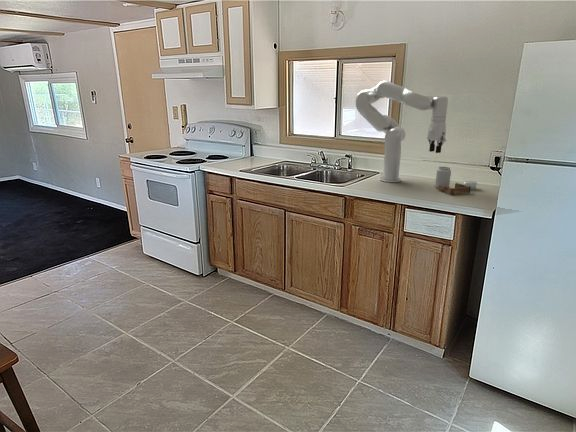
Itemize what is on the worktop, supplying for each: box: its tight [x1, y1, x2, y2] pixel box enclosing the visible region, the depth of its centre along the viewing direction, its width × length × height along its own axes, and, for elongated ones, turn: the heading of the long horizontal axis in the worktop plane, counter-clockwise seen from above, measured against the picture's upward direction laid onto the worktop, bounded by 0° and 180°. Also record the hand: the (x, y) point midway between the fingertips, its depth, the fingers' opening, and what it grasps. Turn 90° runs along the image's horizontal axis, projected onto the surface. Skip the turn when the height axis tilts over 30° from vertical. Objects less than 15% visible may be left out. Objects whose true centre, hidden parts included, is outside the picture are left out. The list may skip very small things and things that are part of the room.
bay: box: [438, 182, 472, 196], centre depth 214 cm, size 10×12×4 cm
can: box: [434, 166, 452, 190], centre depth 221 cm, size 8×8×12 cm
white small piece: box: [462, 180, 478, 191], centre depth 221 cm, size 7×7×4 cm
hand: (434, 151), depth 225 cm, fingers open, 4 cm apart
